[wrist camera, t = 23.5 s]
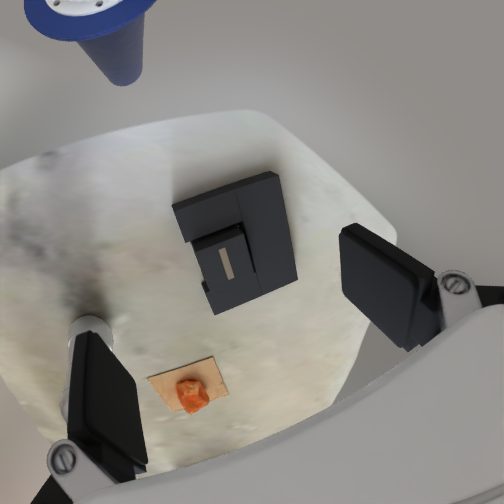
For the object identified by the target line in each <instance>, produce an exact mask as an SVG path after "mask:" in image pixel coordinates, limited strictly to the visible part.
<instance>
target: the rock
mask: <svg viewBox="0 0 504 504" xmlns="http://www.w3.org/2000/svg"><path fill="white" fill-rule="evenodd" d="M147 379H148V380H149V382H150V383H151V384H152V386H153V387H154V389H155V390H156V391H157V393H158V394H159V395H160V397H161V398H162V400H163V401H164V402H165V403H166V405H167V406H168V407H169V409H170V410H171V411H172V412H177V411H180V410H183V409H185V410H186V412H187V413H189V414H193V413H194V412H196V411H198V410H199V409H200V408H202V407H204V406H206V405H207V404H208V403H209V401H211V400H214V399H217V398H220V397H223V396H226V395H229V393H228V391H227V389H226V387H225V385H224V382H223V383H221V381H223V380H222V378H221V375H220V373H219V371H218V369H217V366H216V364H215V361H214V359H213V357H212V358H209V359H206V360H203V361H200V362H197V363H194V364H191V365H188V366H185V367H182V368H179V369H176V370H173V371H170V372H166V373H163V374H160V375H157V376H153V377H150V378H147ZM218 385H219V386H218Z"/></svg>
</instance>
